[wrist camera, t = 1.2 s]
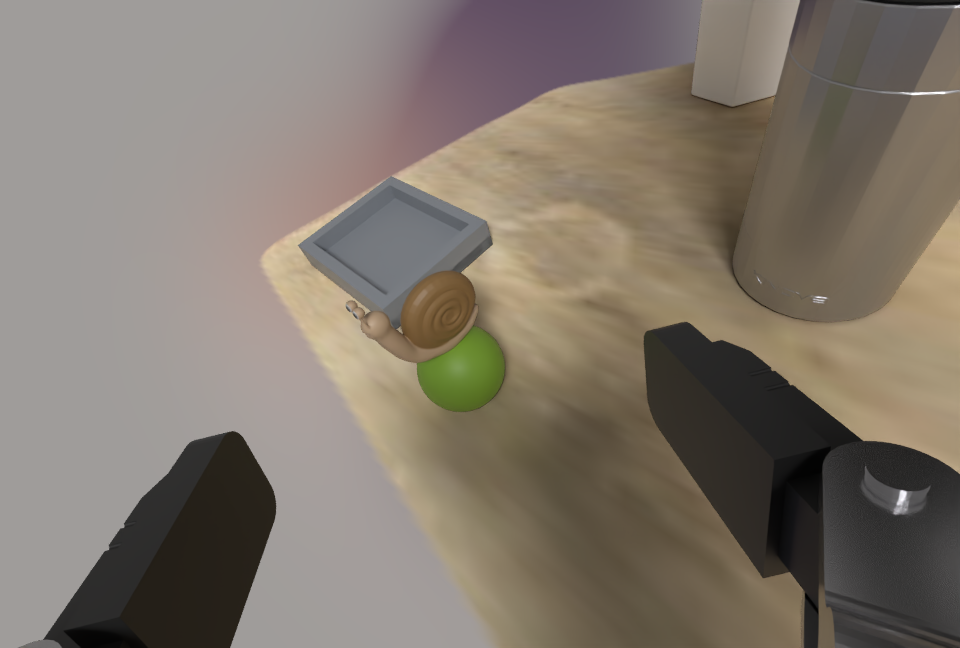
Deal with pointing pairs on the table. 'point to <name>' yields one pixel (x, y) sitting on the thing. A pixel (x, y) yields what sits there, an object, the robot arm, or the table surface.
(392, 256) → the tray
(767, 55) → the jar
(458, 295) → the snail figurine
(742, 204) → the table surface
